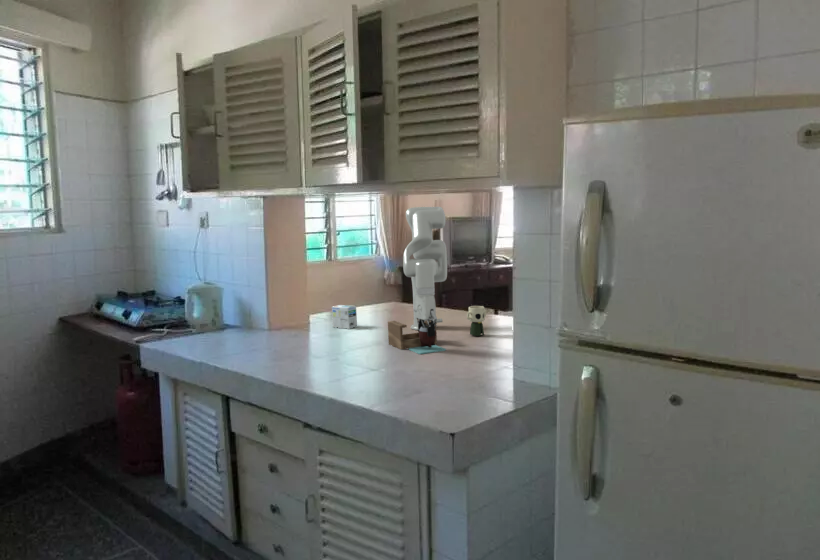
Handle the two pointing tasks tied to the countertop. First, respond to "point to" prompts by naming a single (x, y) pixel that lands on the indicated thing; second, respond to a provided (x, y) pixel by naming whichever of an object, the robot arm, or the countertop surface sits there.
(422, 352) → the teal mat
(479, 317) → the character mug
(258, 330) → the countertop surface
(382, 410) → the countertop surface
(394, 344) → the walnut box
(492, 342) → the countertop surface
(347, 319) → the light bulb box
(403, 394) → the countertop surface
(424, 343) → the mate gourd
